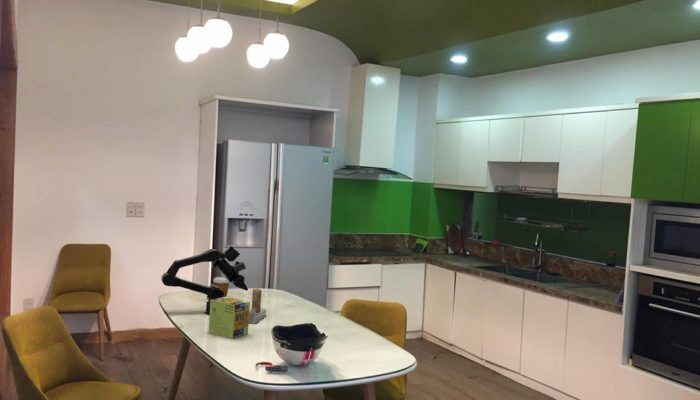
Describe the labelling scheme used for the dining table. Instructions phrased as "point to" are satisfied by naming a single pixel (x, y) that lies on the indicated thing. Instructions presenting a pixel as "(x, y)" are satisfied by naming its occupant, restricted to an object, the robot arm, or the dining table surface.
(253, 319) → the door track
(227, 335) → the protein box
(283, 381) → the dining table surface
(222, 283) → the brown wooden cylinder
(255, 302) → the door panel
